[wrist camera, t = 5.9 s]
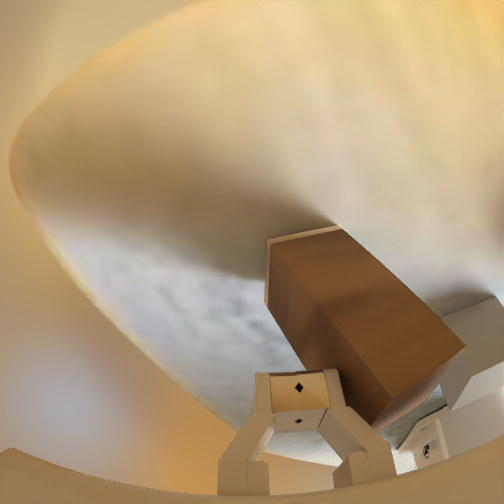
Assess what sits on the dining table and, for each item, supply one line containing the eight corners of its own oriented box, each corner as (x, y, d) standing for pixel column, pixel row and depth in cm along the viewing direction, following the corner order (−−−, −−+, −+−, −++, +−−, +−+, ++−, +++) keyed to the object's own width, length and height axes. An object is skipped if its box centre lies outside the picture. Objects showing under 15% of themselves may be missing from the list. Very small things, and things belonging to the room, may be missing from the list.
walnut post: (326, 284, 18) (424, 401, 11) (264, 302, 17) (354, 445, 10) (337, 224, 16) (466, 345, 9) (267, 239, 14) (391, 398, 7)
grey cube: (478, 338, 23) (503, 386, 18) (428, 358, 24) (450, 411, 19) (495, 295, 20) (528, 347, 15) (440, 316, 20) (471, 376, 15)
